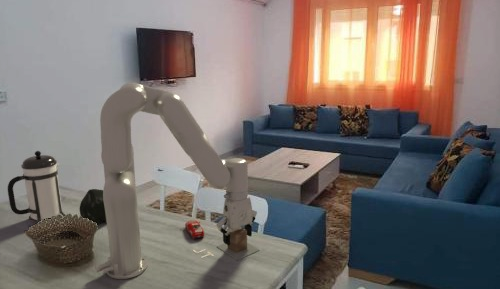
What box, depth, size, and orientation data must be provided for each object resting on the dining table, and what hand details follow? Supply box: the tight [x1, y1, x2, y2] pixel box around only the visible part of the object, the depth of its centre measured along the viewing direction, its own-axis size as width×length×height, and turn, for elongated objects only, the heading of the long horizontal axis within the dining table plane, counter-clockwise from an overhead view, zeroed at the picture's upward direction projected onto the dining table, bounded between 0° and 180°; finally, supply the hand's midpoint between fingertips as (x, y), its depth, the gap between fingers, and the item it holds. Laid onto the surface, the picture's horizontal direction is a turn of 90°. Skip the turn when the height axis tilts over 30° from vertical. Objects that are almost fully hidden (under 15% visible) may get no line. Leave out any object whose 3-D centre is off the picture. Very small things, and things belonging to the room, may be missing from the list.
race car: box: [184, 220, 205, 239], centre depth 143 cm, size 13×5×4 cm, turn 22°
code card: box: [192, 248, 215, 259], centre depth 129 cm, size 9×12×1 cm
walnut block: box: [228, 227, 248, 253], centre depth 130 cm, size 5×5×7 cm
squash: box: [79, 188, 107, 225], centre depth 155 cm, size 14×15×15 cm
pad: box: [216, 242, 260, 261], centre depth 131 cm, size 10×12×1 cm
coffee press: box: [7, 150, 66, 224], centre depth 153 cm, size 17×16×30 cm
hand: (237, 239), depth 130 cm, fingers open, 9 cm apart
